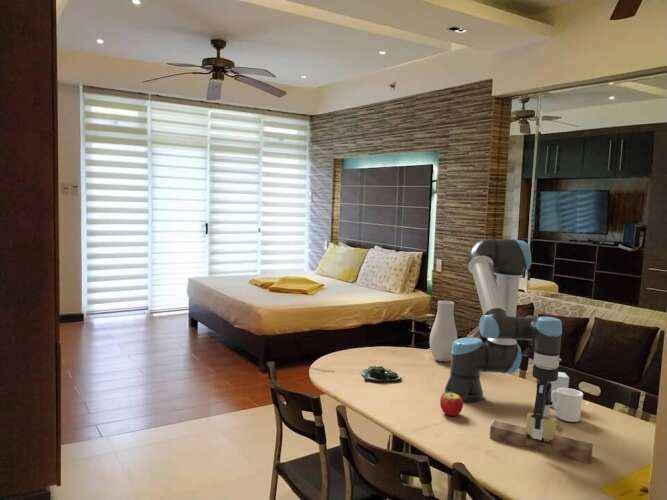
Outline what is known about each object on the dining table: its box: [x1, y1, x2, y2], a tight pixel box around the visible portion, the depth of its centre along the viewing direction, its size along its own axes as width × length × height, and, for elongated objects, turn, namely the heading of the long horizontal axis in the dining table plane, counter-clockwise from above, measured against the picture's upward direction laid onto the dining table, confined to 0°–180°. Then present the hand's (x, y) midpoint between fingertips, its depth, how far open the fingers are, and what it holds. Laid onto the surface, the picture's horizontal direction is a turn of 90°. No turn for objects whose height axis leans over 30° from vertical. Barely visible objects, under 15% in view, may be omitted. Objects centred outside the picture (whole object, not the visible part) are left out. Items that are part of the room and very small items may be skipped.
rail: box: [489, 420, 594, 465], centre depth 167 cm, size 30×6×4 cm, turn 60°
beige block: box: [525, 412, 558, 444], centre depth 166 cm, size 8×3×9 cm, turn 59°
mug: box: [551, 387, 584, 424], centre depth 192 cm, size 11×9×10 cm
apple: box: [439, 387, 464, 417], centre depth 190 cm, size 8×8×10 cm
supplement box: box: [549, 371, 570, 409], centre depth 206 cm, size 7×7×13 cm
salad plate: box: [360, 365, 402, 384], centre depth 232 cm, size 19×18×5 cm
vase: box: [429, 300, 459, 363], centre depth 261 cm, size 14×14×30 cm
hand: (540, 431), depth 166 cm, fingers open, 13 cm apart
